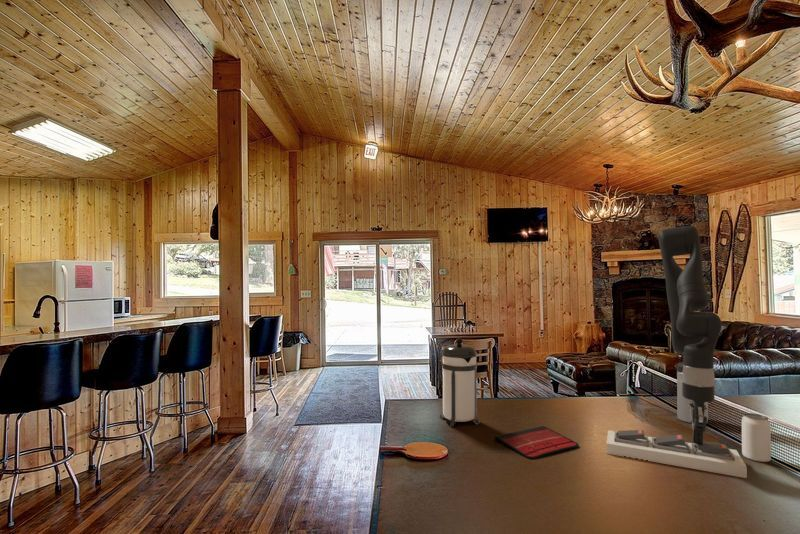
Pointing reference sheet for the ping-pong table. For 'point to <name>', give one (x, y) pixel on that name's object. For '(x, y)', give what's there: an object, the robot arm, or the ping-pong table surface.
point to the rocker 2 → (670, 440)
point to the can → (756, 437)
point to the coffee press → (459, 383)
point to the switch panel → (677, 455)
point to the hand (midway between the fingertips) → (697, 443)
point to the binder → (536, 442)
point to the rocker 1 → (631, 434)
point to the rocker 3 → (713, 447)
